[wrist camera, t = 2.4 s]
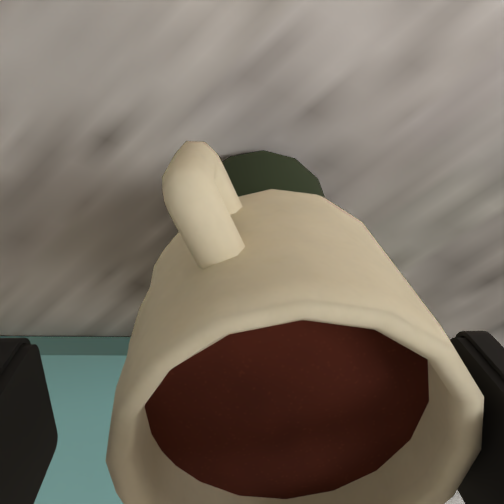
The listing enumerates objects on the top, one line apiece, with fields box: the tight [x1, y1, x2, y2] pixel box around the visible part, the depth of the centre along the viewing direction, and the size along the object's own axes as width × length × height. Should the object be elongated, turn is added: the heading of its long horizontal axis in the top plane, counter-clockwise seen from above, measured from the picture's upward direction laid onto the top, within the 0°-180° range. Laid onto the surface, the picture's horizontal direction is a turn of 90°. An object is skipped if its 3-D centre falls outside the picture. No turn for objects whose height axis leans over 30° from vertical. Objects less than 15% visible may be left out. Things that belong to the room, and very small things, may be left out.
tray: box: [0, 336, 131, 504], centre depth 25 cm, size 18×18×2 cm
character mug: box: [105, 141, 484, 504], centre depth 14 cm, size 11×7×13 cm, turn 23°
